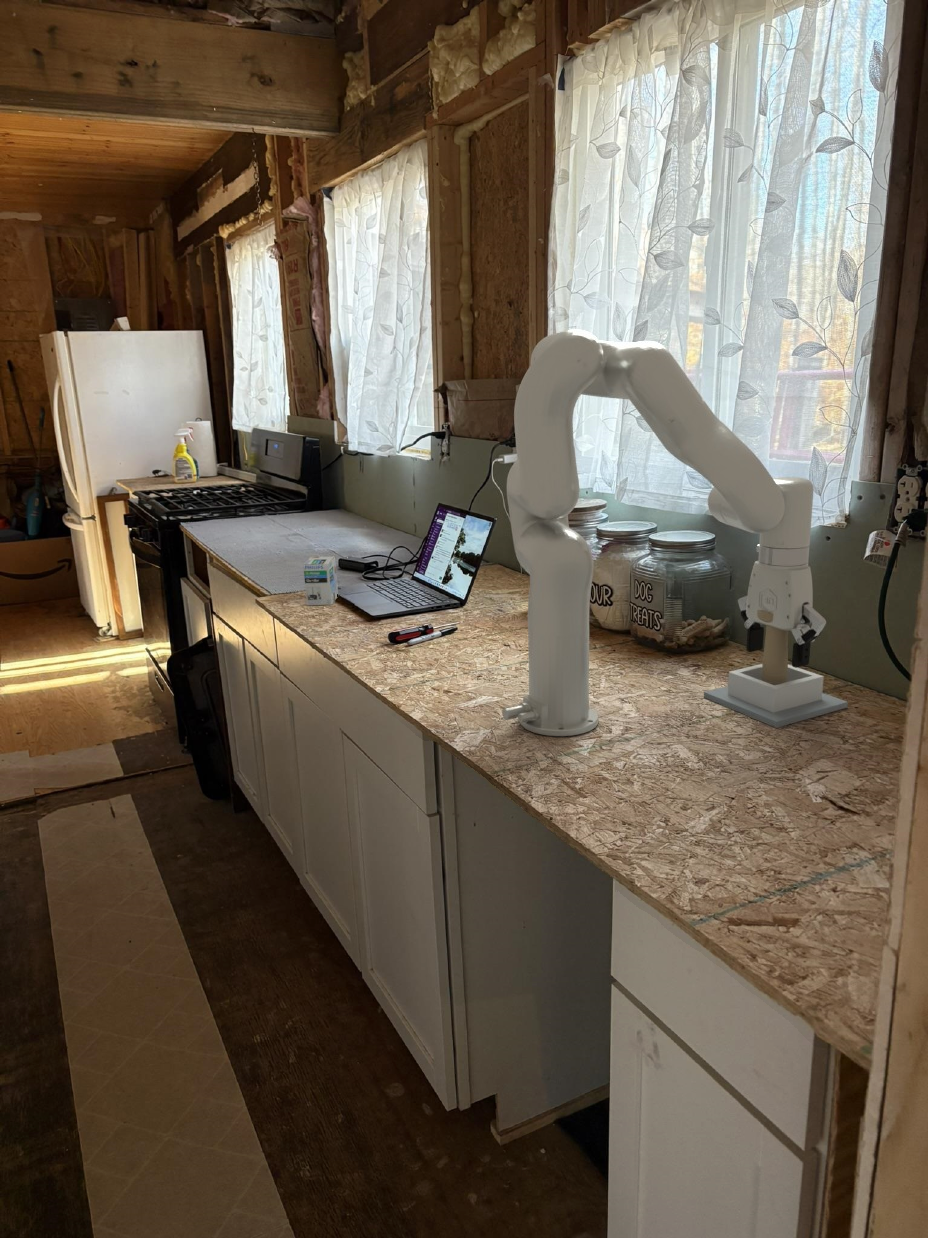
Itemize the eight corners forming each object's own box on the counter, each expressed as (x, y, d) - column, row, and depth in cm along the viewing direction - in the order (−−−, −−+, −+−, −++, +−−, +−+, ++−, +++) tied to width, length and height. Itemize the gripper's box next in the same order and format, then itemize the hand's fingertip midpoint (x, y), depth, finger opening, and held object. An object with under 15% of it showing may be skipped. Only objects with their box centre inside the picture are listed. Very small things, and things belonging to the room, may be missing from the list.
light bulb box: (332, 605, 219) (329, 563, 217) (305, 606, 220) (302, 564, 217) (338, 595, 230) (336, 555, 227) (313, 596, 230) (310, 555, 227)
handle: (799, 698, 144) (804, 611, 140) (764, 704, 142) (769, 615, 138) (781, 689, 148) (786, 604, 144) (748, 694, 147) (751, 608, 143)
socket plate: (776, 728, 135) (778, 697, 134) (703, 697, 149) (704, 669, 148) (847, 707, 142) (849, 678, 141) (771, 680, 156) (773, 653, 155)
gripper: (726, 550, 145) (721, 648, 149) (810, 568, 130) (802, 676, 135) (759, 545, 148) (753, 641, 153) (845, 561, 133) (836, 668, 138)
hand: (776, 658), depth 144 cm, fingers open, 9 cm apart
